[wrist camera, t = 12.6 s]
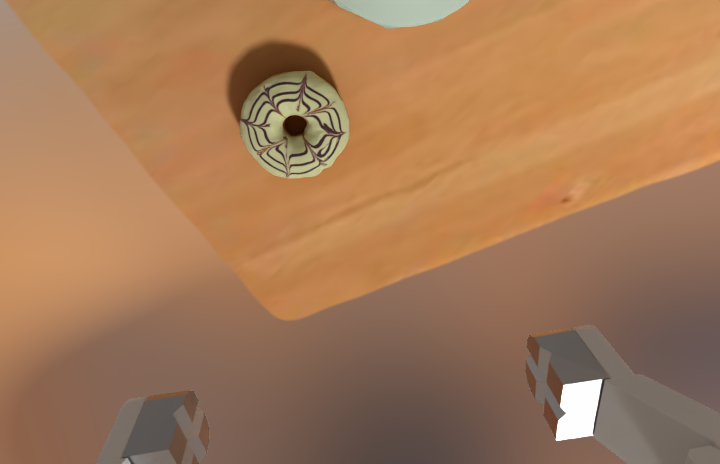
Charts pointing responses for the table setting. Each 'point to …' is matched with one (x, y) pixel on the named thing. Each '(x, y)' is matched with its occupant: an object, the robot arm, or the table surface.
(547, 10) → the table surface
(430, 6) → the cloche
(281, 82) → the decorated donut
